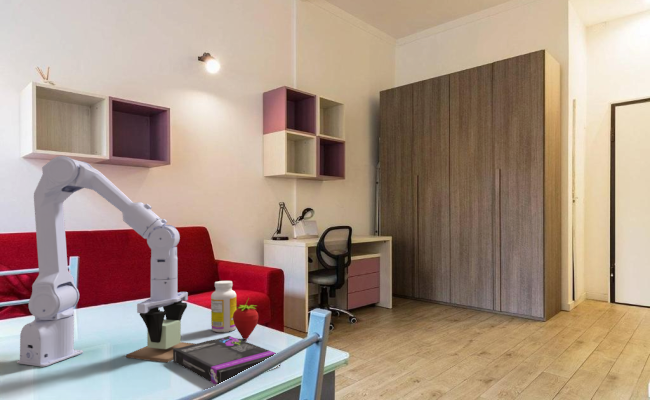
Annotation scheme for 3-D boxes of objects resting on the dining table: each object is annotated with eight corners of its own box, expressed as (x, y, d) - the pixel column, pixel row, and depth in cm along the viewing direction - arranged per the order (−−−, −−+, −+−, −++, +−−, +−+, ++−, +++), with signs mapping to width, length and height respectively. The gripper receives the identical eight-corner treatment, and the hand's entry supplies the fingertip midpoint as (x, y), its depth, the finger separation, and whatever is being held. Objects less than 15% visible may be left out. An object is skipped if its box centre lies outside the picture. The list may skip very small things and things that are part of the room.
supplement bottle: (234, 325, 117) (234, 279, 117) (238, 331, 111) (238, 282, 111) (209, 328, 114) (209, 281, 115) (213, 334, 108) (212, 284, 109)
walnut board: (167, 362, 88) (167, 359, 88) (126, 357, 91) (126, 354, 91) (199, 346, 98) (199, 344, 98) (161, 342, 101) (161, 340, 101)
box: (280, 371, 84) (229, 348, 98) (281, 354, 84) (230, 333, 98) (218, 391, 74) (171, 362, 88) (219, 371, 74) (172, 345, 89)
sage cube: (165, 349, 91) (165, 326, 92) (147, 347, 93) (147, 324, 93) (180, 342, 96) (180, 320, 96) (162, 340, 98) (162, 319, 98)
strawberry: (248, 333, 108) (248, 294, 109) (263, 339, 103) (263, 299, 103) (227, 338, 105) (227, 297, 105) (242, 344, 99) (242, 302, 99)
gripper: (156, 283, 87) (156, 349, 86) (198, 274, 101) (198, 331, 100) (129, 282, 89) (129, 346, 89) (174, 273, 103) (174, 329, 102)
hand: (164, 338), depth 95 cm, fingers closed on sage cube, 5 cm apart
